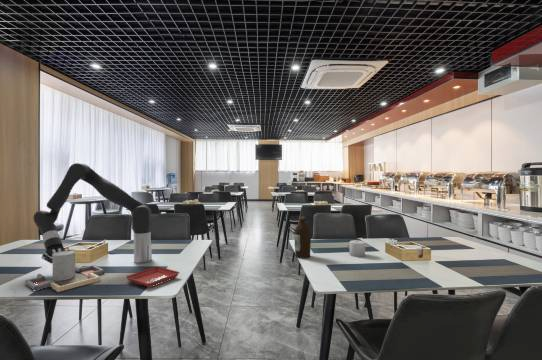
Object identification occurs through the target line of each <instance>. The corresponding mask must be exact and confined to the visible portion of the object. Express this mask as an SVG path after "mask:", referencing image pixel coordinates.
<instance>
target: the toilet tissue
mask: <svg viewBox="0 0 542 360" xmlns="http://www.w3.org/2000/svg"><path fill="white" fill-rule="evenodd" d="M346 247H347V248H348V250H349V256H351V257H354V258H365V256H366V242H365V241H364V240H357V239H356V240H355V239H354V240H353V239H352V240H350V241H349V244H347V245H346Z"/></svg>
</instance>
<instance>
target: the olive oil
mask: <svg viewBox="0 0 542 360" xmlns="http://www.w3.org/2000/svg"><path fill="white" fill-rule="evenodd" d="M293 236H294V238H293V240H294V256H295V257H296V258H297V259H309V258H311V241H312V240H311V239H312V230H311V228H310V227H309V226H308V224H307V223H306V217H305V216H300V217H299V223H298V224H297V226H296V227H295V228H294V230H293Z"/></svg>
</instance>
